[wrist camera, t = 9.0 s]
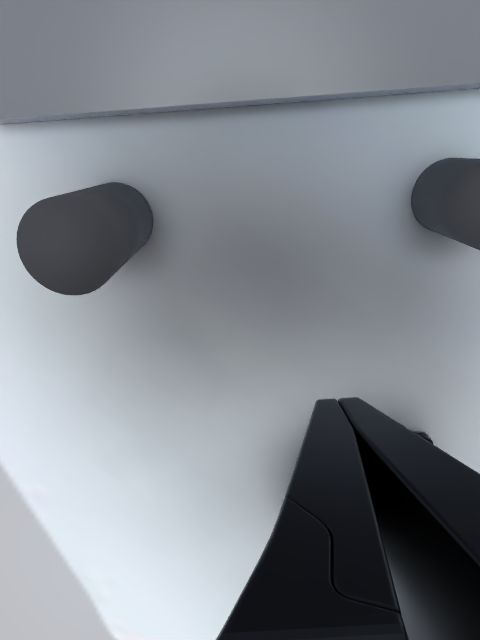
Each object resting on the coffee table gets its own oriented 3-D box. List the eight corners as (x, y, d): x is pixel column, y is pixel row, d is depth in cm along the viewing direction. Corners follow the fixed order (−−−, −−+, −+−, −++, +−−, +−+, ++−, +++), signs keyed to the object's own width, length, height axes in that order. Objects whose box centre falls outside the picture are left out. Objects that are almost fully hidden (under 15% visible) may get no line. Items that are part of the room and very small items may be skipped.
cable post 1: (157, 251, 19) (124, 291, 14) (89, 255, 19) (29, 298, 14) (147, 179, 18) (108, 192, 13) (75, 185, 18) (5, 200, 13)
